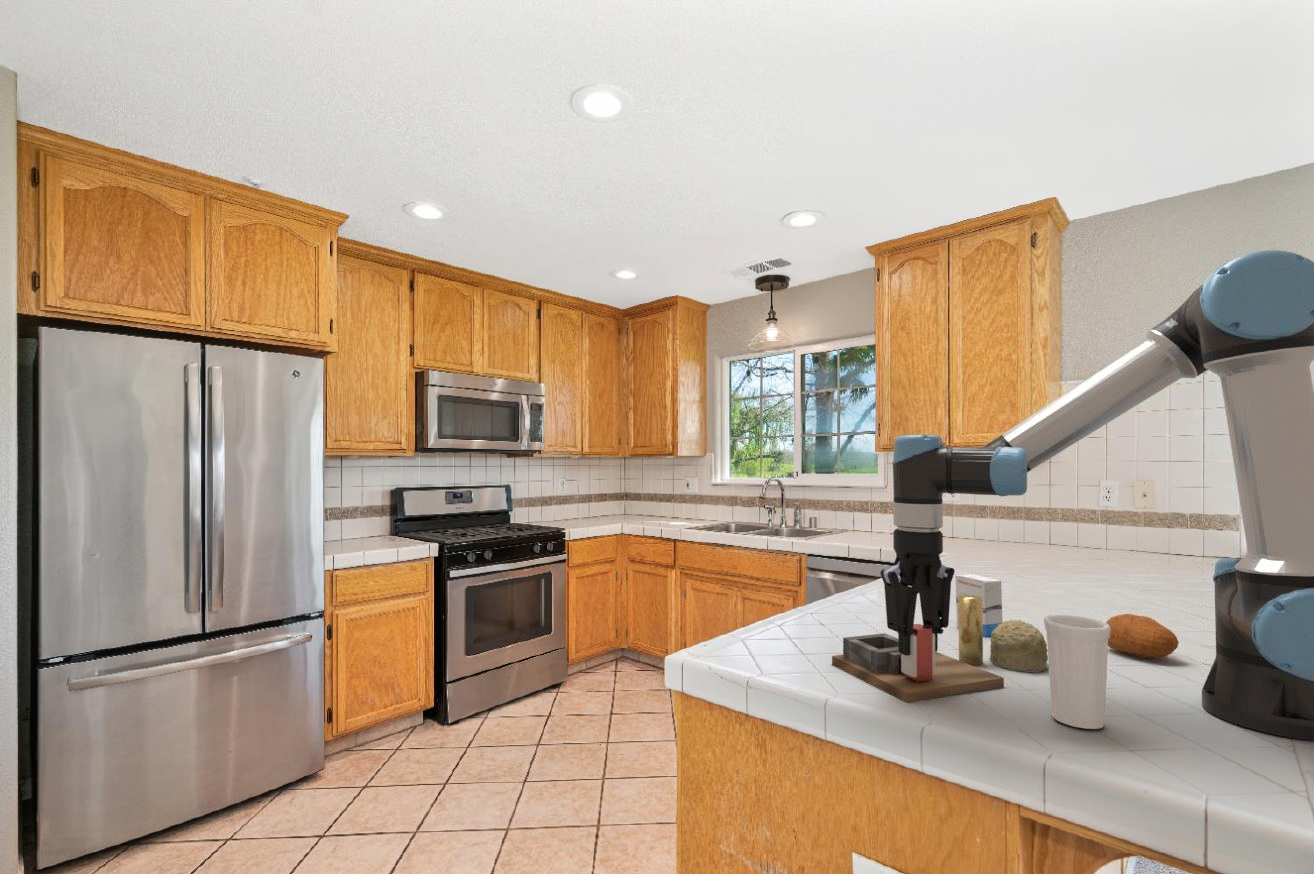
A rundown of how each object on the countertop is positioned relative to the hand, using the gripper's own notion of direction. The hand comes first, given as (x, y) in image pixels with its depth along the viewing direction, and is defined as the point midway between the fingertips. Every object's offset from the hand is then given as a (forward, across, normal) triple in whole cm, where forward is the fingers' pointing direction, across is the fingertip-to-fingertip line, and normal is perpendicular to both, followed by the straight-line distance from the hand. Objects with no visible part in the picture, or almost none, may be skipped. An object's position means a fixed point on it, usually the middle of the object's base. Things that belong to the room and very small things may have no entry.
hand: (918, 672), depth 104 cm
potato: (+3, -54, 0) cm, 54 cm away
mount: (+3, -4, -5) cm, 7 cm away
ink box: (+3, -38, -23) cm, 45 cm away
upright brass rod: (+3, -19, -8) cm, 21 cm away
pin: (+1, 0, -3) cm, 4 cm away
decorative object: (+3, -26, -4) cm, 27 cm away
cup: (+3, -12, +18) cm, 22 cm away
